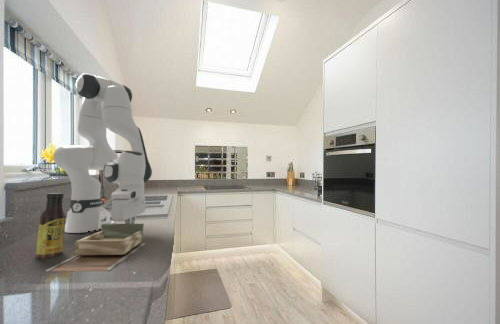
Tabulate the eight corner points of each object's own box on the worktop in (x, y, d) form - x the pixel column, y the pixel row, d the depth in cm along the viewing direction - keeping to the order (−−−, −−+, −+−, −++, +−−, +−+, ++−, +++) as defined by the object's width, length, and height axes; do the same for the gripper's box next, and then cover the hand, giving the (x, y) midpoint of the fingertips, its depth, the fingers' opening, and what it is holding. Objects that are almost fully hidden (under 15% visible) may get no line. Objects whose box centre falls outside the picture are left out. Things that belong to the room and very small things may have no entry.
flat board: (99, 247, 80) (99, 243, 80) (145, 246, 81) (145, 242, 81) (44, 275, 57) (45, 270, 57) (109, 274, 58) (109, 269, 58)
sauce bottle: (46, 262, 65) (50, 194, 67) (29, 260, 67) (34, 193, 68) (68, 254, 72) (72, 192, 73) (52, 253, 73) (56, 192, 74)
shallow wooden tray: (102, 243, 80) (103, 223, 80) (142, 243, 81) (143, 223, 81) (74, 258, 66) (75, 233, 66) (123, 257, 67) (124, 233, 67)
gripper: (135, 190, 97) (133, 223, 96) (108, 194, 76) (106, 235, 75) (150, 190, 97) (148, 223, 96) (127, 194, 77) (125, 235, 76)
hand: (130, 228), depth 86 cm, fingers closed
